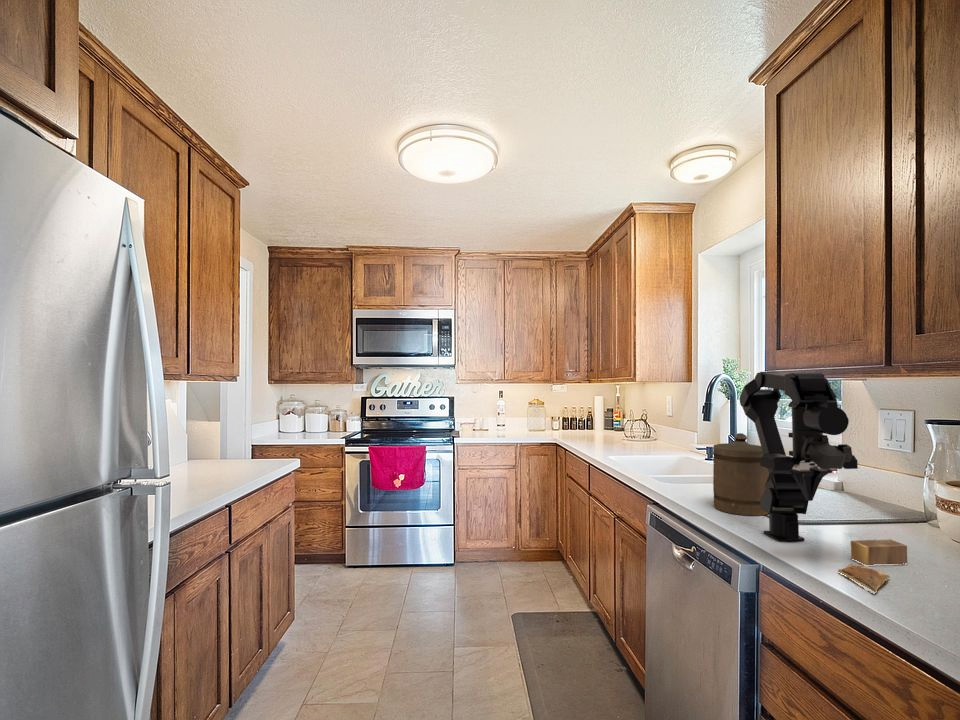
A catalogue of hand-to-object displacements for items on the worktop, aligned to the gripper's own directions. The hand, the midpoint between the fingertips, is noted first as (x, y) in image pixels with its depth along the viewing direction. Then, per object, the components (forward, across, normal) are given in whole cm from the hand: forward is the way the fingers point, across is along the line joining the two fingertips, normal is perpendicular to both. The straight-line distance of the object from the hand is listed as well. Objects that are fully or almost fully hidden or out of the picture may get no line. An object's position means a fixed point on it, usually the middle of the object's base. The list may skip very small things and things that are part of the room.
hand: (809, 500), depth 113 cm
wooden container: (+12, +6, +37) cm, 39 cm away
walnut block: (+10, +7, -5) cm, 13 cm away
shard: (+13, +2, -14) cm, 19 cm away
